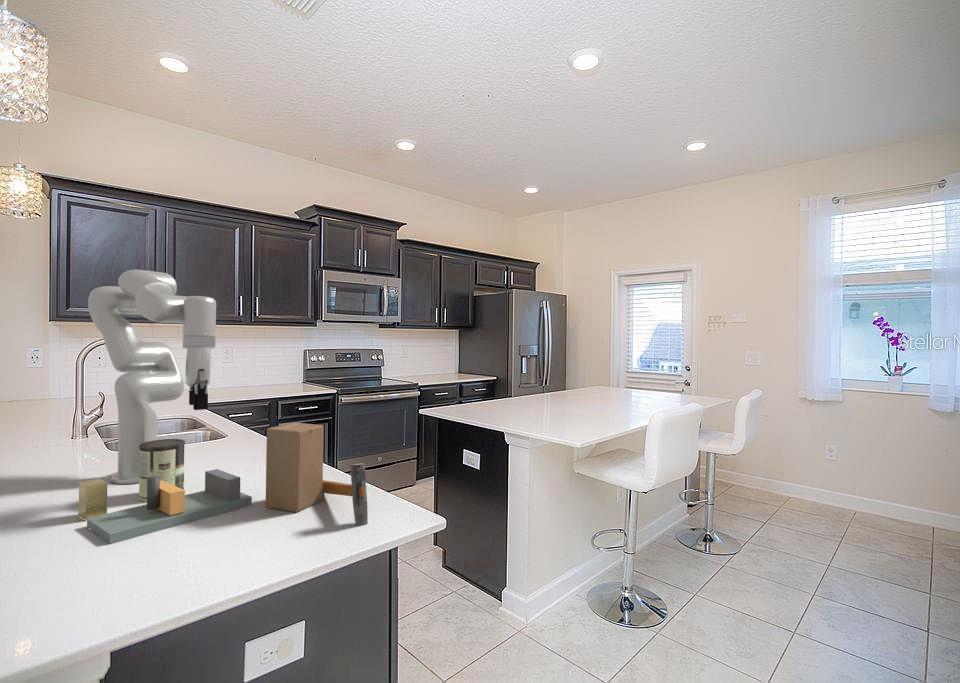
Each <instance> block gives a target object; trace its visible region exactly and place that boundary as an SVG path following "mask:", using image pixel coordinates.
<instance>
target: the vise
mask: <svg viewBox="0 0 960 683" xmlns="http://www.w3.org/2000/svg"><path fill="white" fill-rule="evenodd" d="M204 478H205V479H204V490H202V491H201V490H200V491H196V492H193V493H188V494H185V512H182V513H178V514H174V515H168V514H166V513H164V512H162V511H161V510H159V509H154V510H147V503H146V504H142V505H138V506H134V507H130V508H129V507H128V508H124V509H121V510H120V509H119V510H116V511H113V512H107V514H103V515H99V516H95V517H90V518H87V521H86V528H87V527H88V528H87V529H89V528H90V529H91V530H92V532H93V533H94V532H95V533H96V534H95V533H94V534H95V535H97V536H98V535H99V537H100V538H101V539H102V540H104V541H105V542H106V543H108V544H109V545H112V544H115V543H119V542H123V541H127V540H131V539H133V538H137V537H140V536H144V535H147V534H152V533H155V532H157V531H162V530H165V529H166V530H167V529H169V528H172V527H176V526H179V525H183V524H187V523H190V522H194V521H197V520H201V519H205V518H209V517H213V516H216V515H219V514H222V513H225V512H230V511H234V510H236V509H240V508H244V507H247V506H251V505H252V504H253V498H252V497H253V496H251V495H248V494H247V493H244V492H241V477H240V476H237V475H235V474H231V473H229V472H227V471H224V470H220V469H218V468H216V469H212V470H206V471H204ZM90 529H89V530H90ZM91 530H90V531H91Z"/></svg>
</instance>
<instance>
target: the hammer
mask: <svg viewBox="0 0 960 683" xmlns="http://www.w3.org/2000/svg"><path fill="white" fill-rule="evenodd" d="M365 465H366V464H365V463H354V464H350V479H351V484H350V483H343V482H338V481H330V480H324V479H323V491H322V494H327V495H338V496H346V497H347V496H348V497H351V498H352V507H353V516H354V517H353V518H354V523H355V526H356V527H359V526H363V525H368V523H369V522H368V516H369V515H368V514H369V513H368V493H367V492H368V491H367V481H366V480H367V479H366V478H367V477H366V466H365Z"/></svg>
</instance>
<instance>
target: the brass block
mask: <svg viewBox="0 0 960 683" xmlns="http://www.w3.org/2000/svg"><path fill="white" fill-rule="evenodd" d="M107 513H108V481H105V480H103V479H102V478H96V479H95V478H94V479H90V480H89V479H88V480H83V481H79V482H78V517H79V516H80V517H82V518H83V519H85V520H87V518H90V517H95V516H99V515H103V514H107ZM80 517H79V518H80ZM82 518H81V519H82ZM83 519H82V520H83ZM85 520H84V521H85Z"/></svg>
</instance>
